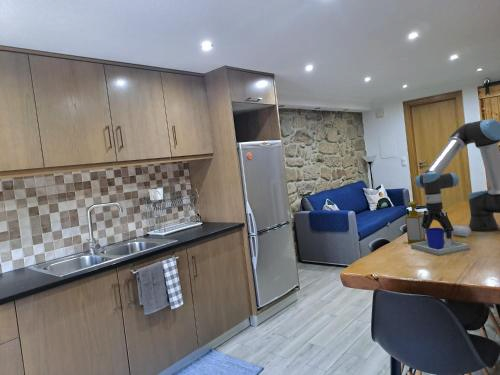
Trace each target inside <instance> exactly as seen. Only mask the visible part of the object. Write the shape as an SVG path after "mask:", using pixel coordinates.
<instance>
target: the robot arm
mask: <svg viewBox="0 0 500 375" xmlns="http://www.w3.org/2000/svg"><path fill="white" fill-rule="evenodd" d="M499 143H500V121H498V120H496V119H494V118H490V119H483V120H478V121H477V120H476V121H474V122H473V121H472V122H468V123H464V124H463V125H461V126H460V127H458V128H457V129H456V130H455V131H454V132H453V133H452V134H451V135H450V136H449V138H447V143H446V144H445V145H444V147H443V148H442V149H441V151H439V153H438V154H437V156H436V157H435V159H434V160H433V161H432V162H431V164H430V165H429V166H428V167H427V169H426V170H425V172H424V173H423V174H419V175H416V177H415V179H414V183H415V186H416V187H417V188H419V189H423V190H424V197H425V203H426V204H425V207H426V208H425V209H426V210H424V211H423V221H422V225H421V226H422V227H424V230H425V239H426V241H428V240H427V235H426V229H428V228H431V225H432V223H433V222H434V221H436V222H438V223H439V224H440V226H441V228H442V229H443V230H444V231H445V232H444V239H445V245H451V241H452V238H451V233H450V232H451V231H454V229H453V227H452V226H453V225H452V223H451V221H450V219H449V217H448V213H447V211H443V212H442V210H443V207H444V206H443V199H442V197H443V196H442V190H444V189H449V188H450V189H451V188H454V187H456V186H458V185H459V182H460V181H459V176H458V175H457V174H456V173H454V172H447V173H443V172H444V171H445V170H446V168H448V166H449V165H450V163H451V162H452V161H453V159H454V158H456V156H457V155H458V153H459V152H460V150H464V148H465V147H466V146H467V145H470V144H474V145H475V148H477V149H479V151H480V155H481V158H482V163H483V166H484V169H485V173H486V177H487V182H488V186H489V189H486V190H479V191H473V192H470V193H469V194H468V203H469V213H470V219H469V224H468V227H470V229H471V232H479V233H480V232H481V233H482V232H484V233H485V232H486V233H487V232H494V231H497V230H499V229H500V228H499V225H498V223H497V220H496V218H495V215H494V214H500V148H499ZM450 238H451V239H450Z"/></svg>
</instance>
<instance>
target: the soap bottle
mask: <svg viewBox="0 0 500 375" xmlns="http://www.w3.org/2000/svg"><path fill="white" fill-rule="evenodd" d="M418 203H419V201H409V202H408V203H407V206H408V207H409V208H411V210H410V211H409V214H407V215H406V216H405V218H404V219H405V226H406V234H407V244H408V245H409V244H410V245H411V244H412V243H418V242H423V241H427V240H426V234H425V229H424V227H422V226H421V225H422V221H423V217H424V213H423V214H421V213H419V214H418V210H417V209H415V207H417V206H418Z"/></svg>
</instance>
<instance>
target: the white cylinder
mask: <svg viewBox="0 0 500 375" xmlns="http://www.w3.org/2000/svg"><path fill="white" fill-rule="evenodd" d="M452 227H453V229H454V231H452V235H453V236H454V237H464V238H465V237H466V238H469V237H470V236H471V235H472V231H471V229H470V227H469V225H468V226H466V225H456V224H455V225H452Z"/></svg>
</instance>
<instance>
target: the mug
mask: <svg viewBox="0 0 500 375" xmlns="http://www.w3.org/2000/svg"><path fill="white" fill-rule="evenodd" d="M444 232H445V231H444V229H443V228H442V227H430V228H428V229H426V234H425V236H426V235H427V240H428V245H429V248H433V249H442V248H443V246H444V244H445V243H444V239H445V237H444ZM450 233H451V238H450V239H451V240H452V237H453V236H452V231H451V232H450ZM427 240H426V241H427Z"/></svg>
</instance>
